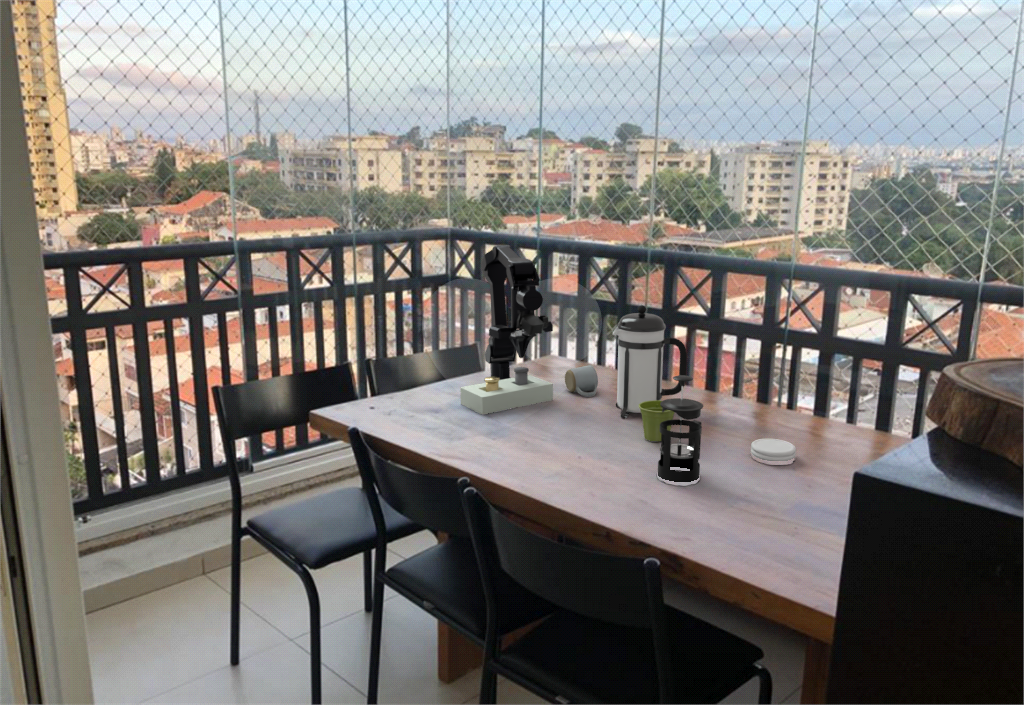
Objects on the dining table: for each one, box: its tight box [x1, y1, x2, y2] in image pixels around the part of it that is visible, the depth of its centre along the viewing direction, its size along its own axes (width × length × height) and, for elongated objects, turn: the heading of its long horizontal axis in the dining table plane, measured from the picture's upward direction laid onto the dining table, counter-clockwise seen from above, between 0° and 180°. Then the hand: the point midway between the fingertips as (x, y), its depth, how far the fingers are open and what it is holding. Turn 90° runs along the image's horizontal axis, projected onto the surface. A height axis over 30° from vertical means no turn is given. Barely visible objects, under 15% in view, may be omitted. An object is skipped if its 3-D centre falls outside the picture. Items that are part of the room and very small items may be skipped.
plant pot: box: [639, 400, 676, 442], centre depth 196 cm, size 9×9×9 cm
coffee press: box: [612, 304, 688, 419], centre depth 215 cm, size 17×16×30 cm
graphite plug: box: [513, 366, 529, 386], centre depth 230 cm, size 4×4×8 cm
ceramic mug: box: [564, 364, 599, 398], centre depth 236 cm, size 11×8×8 cm
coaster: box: [750, 438, 797, 461], centre depth 184 cm, size 10×10×4 cm
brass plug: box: [484, 376, 500, 392], centre depth 224 cm, size 4×4×8 cm
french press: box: [657, 374, 704, 482], centre depth 171 cm, size 12×9×23 cm
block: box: [459, 374, 554, 415], centre depth 228 cm, size 12×24×5 cm, turn 123°
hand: (521, 357), depth 228 cm, fingers closed
